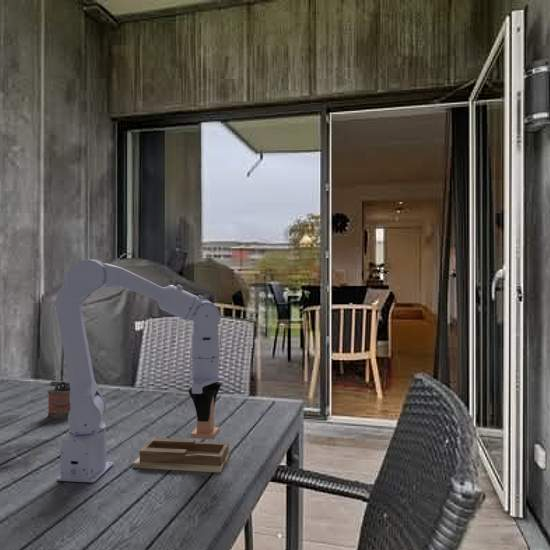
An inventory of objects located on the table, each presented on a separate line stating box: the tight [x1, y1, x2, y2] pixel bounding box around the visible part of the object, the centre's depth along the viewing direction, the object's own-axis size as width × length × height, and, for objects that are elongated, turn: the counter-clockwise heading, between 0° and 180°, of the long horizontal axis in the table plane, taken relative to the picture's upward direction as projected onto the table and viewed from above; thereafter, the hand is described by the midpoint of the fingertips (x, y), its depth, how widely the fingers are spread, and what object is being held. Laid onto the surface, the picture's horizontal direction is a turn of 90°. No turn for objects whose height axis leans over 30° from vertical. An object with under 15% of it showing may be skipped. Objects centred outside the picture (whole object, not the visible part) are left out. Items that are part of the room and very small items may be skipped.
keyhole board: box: [132, 437, 231, 473], centre depth 113 cm, size 10×19×3 cm, turn 83°
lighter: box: [47, 379, 70, 419], centre depth 145 cm, size 8×3×10 cm, turn 92°
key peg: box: [190, 397, 220, 440], centre depth 112 cm, size 5×5×8 cm
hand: (205, 418), depth 112 cm, fingers closed on key peg, 3 cm apart
